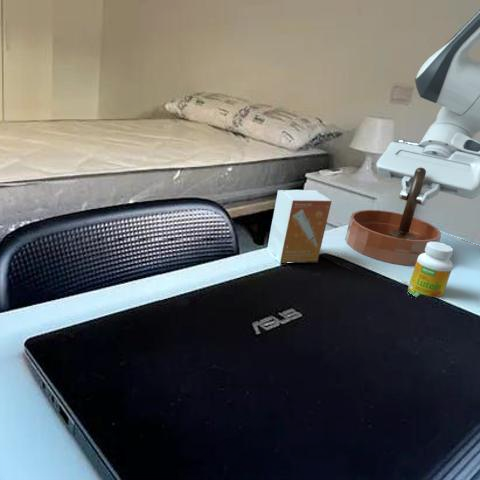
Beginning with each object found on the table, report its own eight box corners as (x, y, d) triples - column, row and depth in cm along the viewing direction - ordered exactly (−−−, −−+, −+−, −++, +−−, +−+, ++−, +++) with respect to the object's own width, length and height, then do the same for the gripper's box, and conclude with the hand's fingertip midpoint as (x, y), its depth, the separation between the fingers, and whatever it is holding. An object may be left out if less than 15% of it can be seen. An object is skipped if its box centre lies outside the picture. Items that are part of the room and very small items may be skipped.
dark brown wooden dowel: (418, 242, 105) (440, 169, 99) (408, 248, 102) (430, 172, 95) (393, 234, 108) (413, 162, 102) (383, 239, 105) (403, 166, 99)
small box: (279, 265, 94) (292, 200, 89) (265, 251, 100) (277, 189, 95) (318, 264, 96) (332, 200, 91) (302, 250, 102) (315, 189, 96)
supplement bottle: (407, 299, 85) (423, 248, 82) (406, 286, 90) (421, 237, 86) (442, 308, 84) (460, 255, 80) (438, 294, 88) (456, 244, 84)
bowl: (444, 255, 105) (453, 229, 103) (412, 277, 94) (421, 248, 92) (367, 229, 116) (373, 204, 114) (329, 245, 105) (336, 219, 103)
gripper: (391, 128, 108) (360, 178, 105) (497, 149, 95) (464, 206, 92) (395, 147, 113) (365, 195, 110) (496, 169, 99) (465, 224, 97)
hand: (411, 200), depth 101 cm, fingers closed on dark brown wooden dowel
